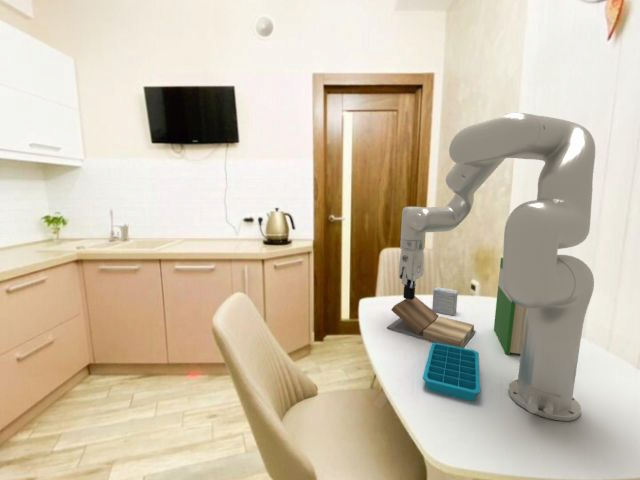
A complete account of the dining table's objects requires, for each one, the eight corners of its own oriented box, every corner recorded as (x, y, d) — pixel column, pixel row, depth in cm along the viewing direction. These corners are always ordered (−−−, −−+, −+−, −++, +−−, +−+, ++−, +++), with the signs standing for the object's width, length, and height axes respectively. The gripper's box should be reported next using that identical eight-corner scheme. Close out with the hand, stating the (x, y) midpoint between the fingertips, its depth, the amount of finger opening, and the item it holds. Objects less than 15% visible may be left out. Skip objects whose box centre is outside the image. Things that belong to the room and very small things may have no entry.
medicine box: (456, 312, 117) (458, 290, 116) (454, 316, 114) (456, 293, 112) (434, 308, 122) (436, 286, 120) (431, 311, 118) (433, 289, 117)
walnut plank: (418, 334, 96) (422, 330, 95) (391, 310, 101) (394, 305, 100) (435, 320, 108) (439, 315, 107) (410, 298, 113) (413, 294, 112)
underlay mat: (461, 351, 88) (461, 349, 88) (386, 328, 102) (386, 326, 102) (475, 332, 100) (475, 330, 100) (407, 314, 115) (407, 312, 115)
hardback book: (537, 360, 84) (548, 272, 81) (505, 355, 86) (514, 270, 83) (519, 333, 101) (528, 259, 97) (493, 329, 103) (500, 257, 100)
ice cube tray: (421, 391, 70) (422, 379, 70) (431, 351, 88) (432, 341, 88) (479, 407, 65) (480, 394, 65) (477, 361, 83) (478, 351, 83)
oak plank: (460, 348, 89) (460, 341, 88) (422, 336, 95) (423, 330, 95) (473, 330, 100) (474, 324, 100) (439, 321, 107) (440, 316, 107)
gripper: (414, 249, 95) (410, 307, 98) (431, 243, 106) (428, 295, 109) (391, 246, 100) (388, 301, 102) (410, 240, 111) (407, 290, 114)
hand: (408, 298), depth 106 cm, fingers closed
